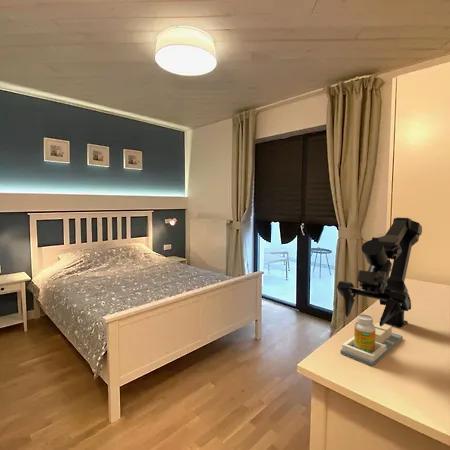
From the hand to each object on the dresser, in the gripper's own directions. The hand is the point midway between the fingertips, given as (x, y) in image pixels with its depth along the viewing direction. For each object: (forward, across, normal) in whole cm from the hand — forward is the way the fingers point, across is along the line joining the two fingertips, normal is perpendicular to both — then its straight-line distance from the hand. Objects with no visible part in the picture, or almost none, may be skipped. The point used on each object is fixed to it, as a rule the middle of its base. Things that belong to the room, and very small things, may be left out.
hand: (362, 320), depth 81 cm
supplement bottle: (+6, 0, +8) cm, 9 cm away
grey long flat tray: (+2, 0, +12) cm, 12 cm away
